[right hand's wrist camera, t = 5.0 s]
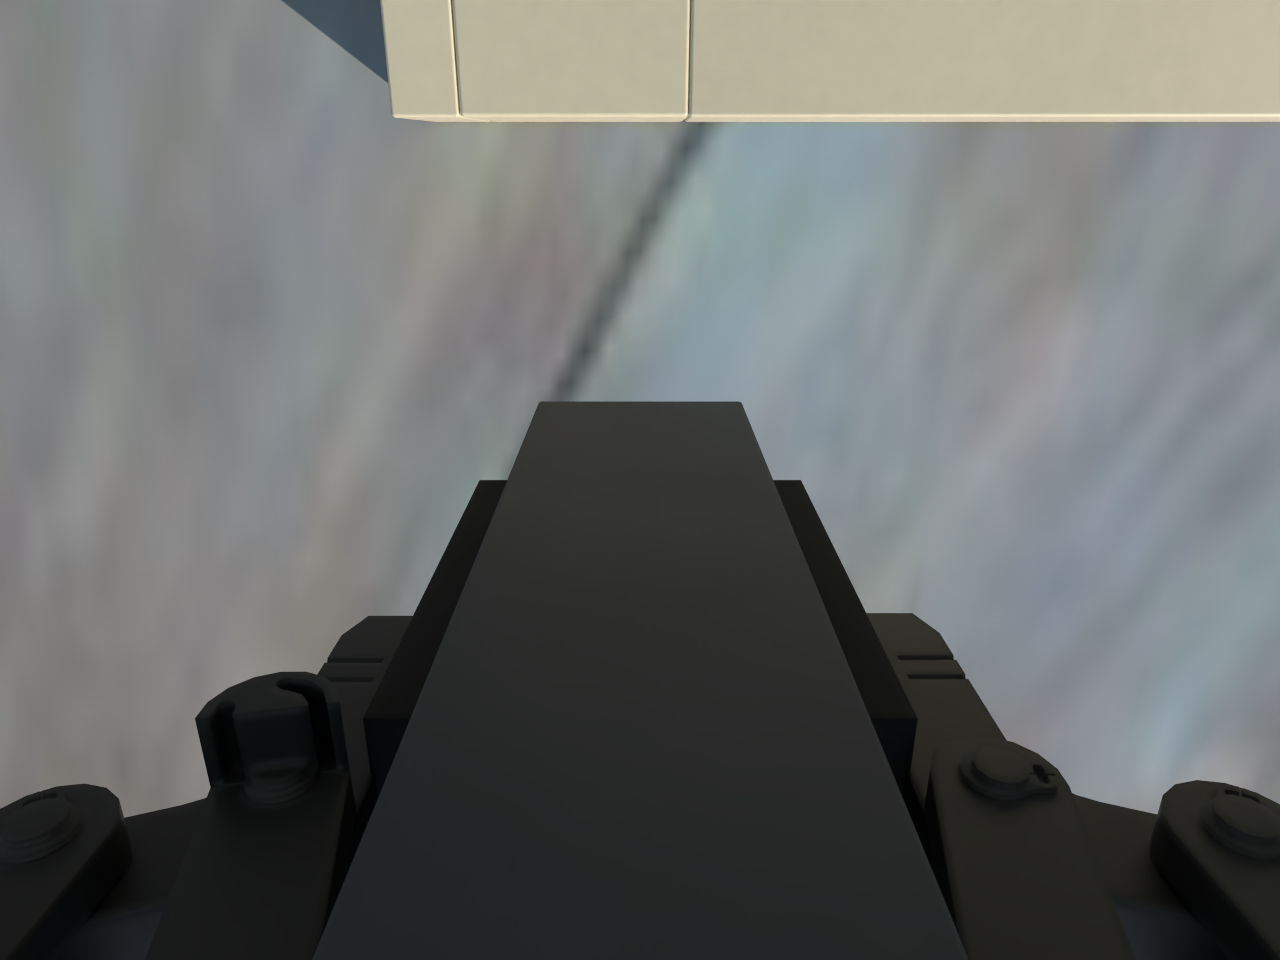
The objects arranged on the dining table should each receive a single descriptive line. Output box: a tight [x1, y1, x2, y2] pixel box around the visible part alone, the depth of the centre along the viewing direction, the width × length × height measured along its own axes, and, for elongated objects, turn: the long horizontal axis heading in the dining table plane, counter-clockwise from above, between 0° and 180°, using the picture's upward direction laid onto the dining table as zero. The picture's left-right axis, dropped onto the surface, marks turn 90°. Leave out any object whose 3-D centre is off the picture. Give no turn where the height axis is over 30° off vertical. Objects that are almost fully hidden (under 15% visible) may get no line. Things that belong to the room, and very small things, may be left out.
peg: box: [312, 402, 969, 960], centre depth 11 cm, size 4×4×14 cm
